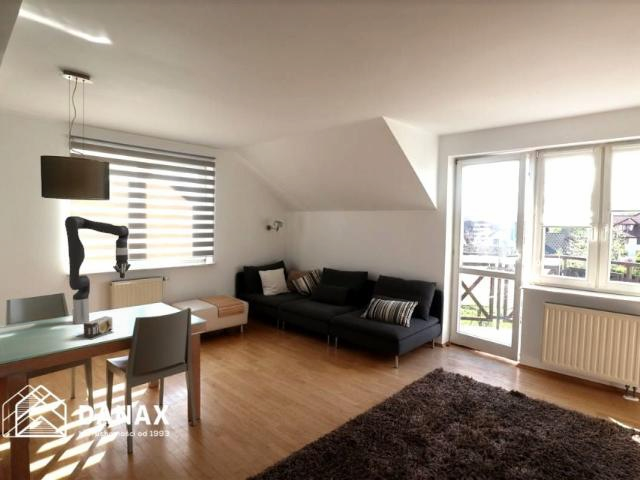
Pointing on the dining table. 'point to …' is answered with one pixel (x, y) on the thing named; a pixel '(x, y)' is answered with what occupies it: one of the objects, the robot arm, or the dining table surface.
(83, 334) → the mat
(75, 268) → the robot arm
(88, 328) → the coffee box
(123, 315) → the dining table surface
